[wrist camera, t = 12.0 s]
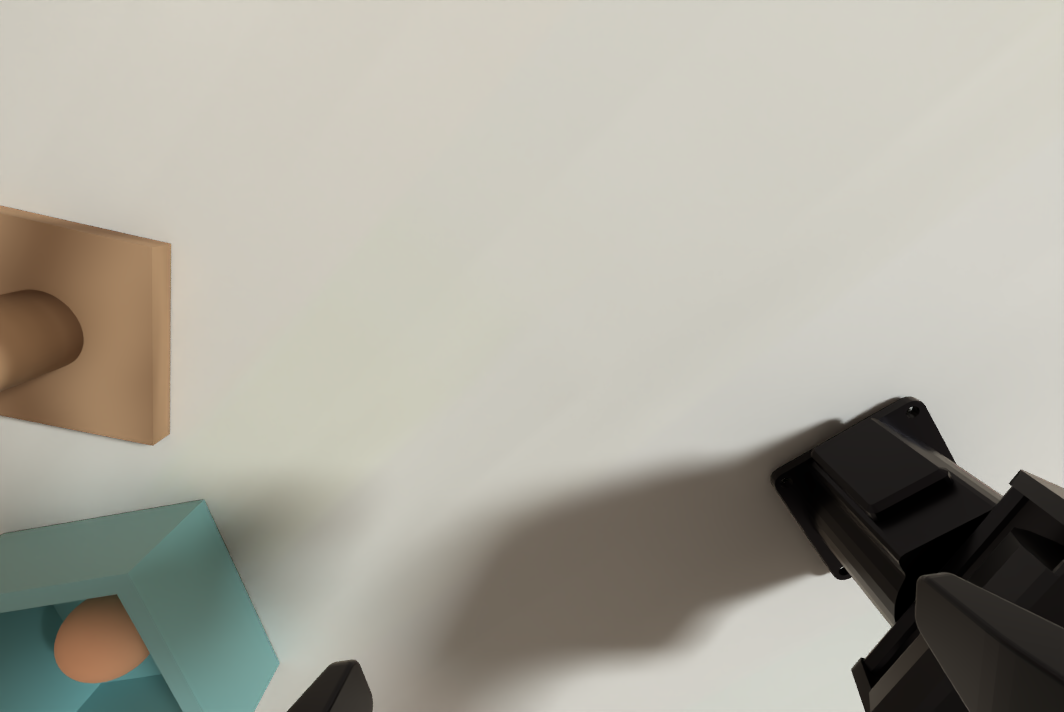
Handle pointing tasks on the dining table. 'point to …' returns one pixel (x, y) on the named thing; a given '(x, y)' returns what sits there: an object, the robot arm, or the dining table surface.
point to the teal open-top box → (133, 614)
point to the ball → (98, 642)
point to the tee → (84, 327)
